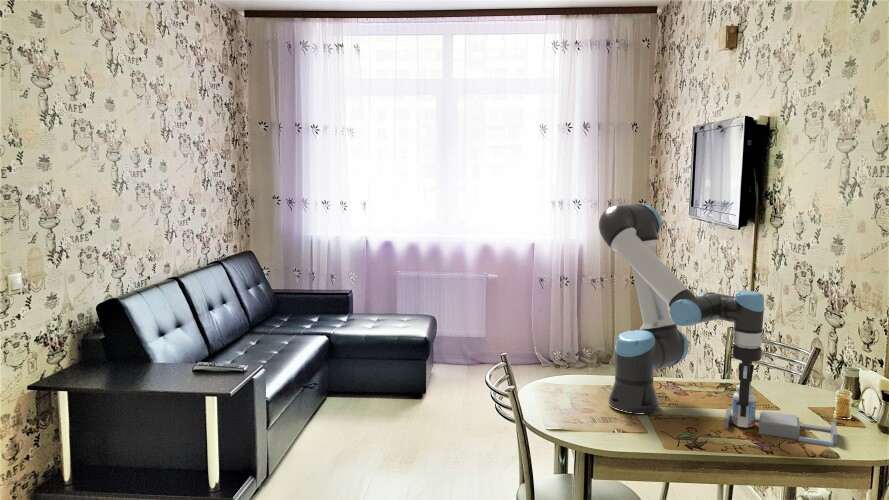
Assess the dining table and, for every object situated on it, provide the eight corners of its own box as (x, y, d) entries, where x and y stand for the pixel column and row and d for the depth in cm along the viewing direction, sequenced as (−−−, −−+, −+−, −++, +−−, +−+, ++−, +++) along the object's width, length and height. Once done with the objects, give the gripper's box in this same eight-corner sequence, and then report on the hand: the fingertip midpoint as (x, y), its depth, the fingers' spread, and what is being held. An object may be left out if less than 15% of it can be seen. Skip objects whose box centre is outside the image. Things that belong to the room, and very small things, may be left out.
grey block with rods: (723, 429, 188) (724, 417, 188) (727, 414, 200) (727, 403, 199) (837, 446, 176) (838, 433, 175) (834, 430, 187) (834, 418, 187)
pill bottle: (757, 428, 188) (759, 390, 187) (734, 427, 189) (736, 389, 188) (751, 420, 194) (753, 383, 193) (729, 419, 195) (731, 382, 194)
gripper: (760, 355, 179) (756, 436, 181) (762, 339, 196) (758, 414, 198) (730, 351, 182) (726, 431, 185) (735, 336, 199) (731, 410, 202)
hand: (743, 422), depth 192 cm, fingers closed on pill bottle, 6 cm apart
